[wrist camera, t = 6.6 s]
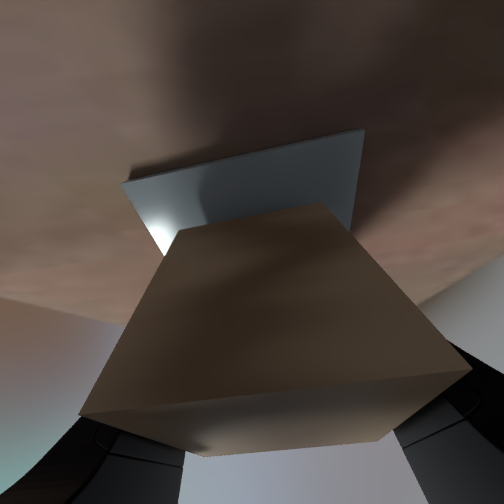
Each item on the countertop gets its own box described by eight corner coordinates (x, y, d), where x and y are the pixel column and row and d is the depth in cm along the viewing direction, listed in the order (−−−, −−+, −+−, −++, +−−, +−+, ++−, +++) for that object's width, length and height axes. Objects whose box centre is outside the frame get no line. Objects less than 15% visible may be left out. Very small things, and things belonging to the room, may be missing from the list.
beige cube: (321, 201, 7) (472, 368, 3) (317, 297, 11) (377, 441, 6) (178, 229, 8) (77, 414, 3) (220, 312, 11) (203, 457, 7)
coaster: (357, 128, 7) (365, 129, 7) (336, 291, 13) (339, 297, 13) (127, 179, 8) (120, 183, 8) (204, 311, 14) (202, 318, 14)
